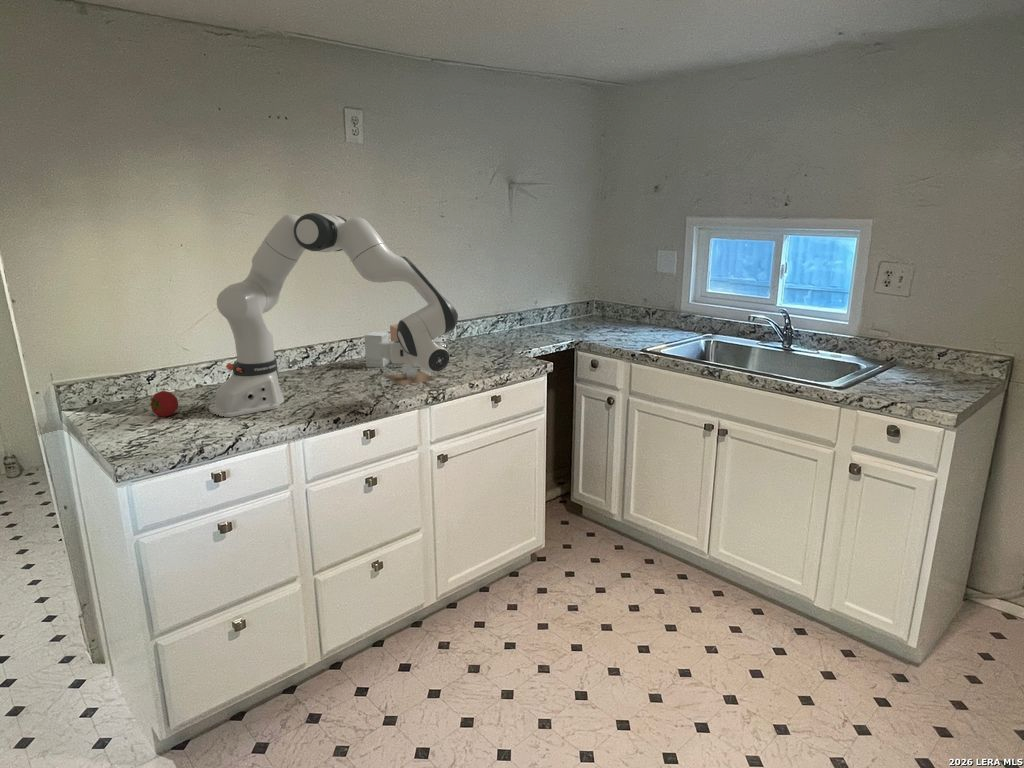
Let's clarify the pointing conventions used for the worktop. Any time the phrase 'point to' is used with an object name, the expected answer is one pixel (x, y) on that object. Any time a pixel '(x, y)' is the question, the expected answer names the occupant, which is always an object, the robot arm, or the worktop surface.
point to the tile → (402, 381)
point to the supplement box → (375, 349)
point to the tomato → (164, 404)
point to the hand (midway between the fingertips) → (401, 341)
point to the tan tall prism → (393, 332)
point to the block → (409, 372)
